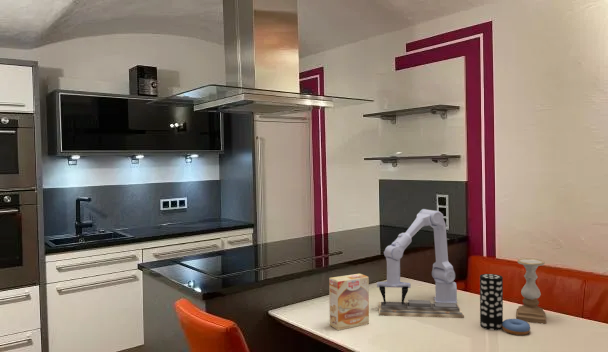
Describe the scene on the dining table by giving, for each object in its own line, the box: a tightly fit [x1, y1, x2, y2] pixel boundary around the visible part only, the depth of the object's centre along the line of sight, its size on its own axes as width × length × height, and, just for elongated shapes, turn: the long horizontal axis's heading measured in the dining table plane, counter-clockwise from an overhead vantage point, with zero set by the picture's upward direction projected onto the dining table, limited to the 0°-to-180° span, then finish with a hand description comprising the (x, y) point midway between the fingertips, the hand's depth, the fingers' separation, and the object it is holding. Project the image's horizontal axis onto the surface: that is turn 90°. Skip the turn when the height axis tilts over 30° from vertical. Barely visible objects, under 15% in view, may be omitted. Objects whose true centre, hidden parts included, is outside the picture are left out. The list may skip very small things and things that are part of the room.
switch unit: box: [378, 301, 465, 319], centre depth 210 cm, size 35×15×3 cm, turn 82°
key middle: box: [408, 299, 431, 307], centre depth 209 cm, size 9×5×2 cm, turn 82°
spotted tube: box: [479, 273, 504, 331], centre depth 189 cm, size 8×8×20 cm
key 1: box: [382, 301, 405, 307], centre depth 211 cm, size 9×5×2 cm, turn 82°
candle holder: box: [515, 257, 547, 325], centre depth 198 cm, size 11×11×24 cm
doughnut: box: [502, 318, 531, 336], centre depth 184 cm, size 10×10×5 cm
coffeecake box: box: [328, 273, 370, 331], centre depth 194 cm, size 15×7×20 cm, turn 117°
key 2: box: [433, 302, 457, 308], centre depth 208 cm, size 9×5×2 cm, turn 82°
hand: (393, 303), depth 211 cm, fingers open, 7 cm apart
